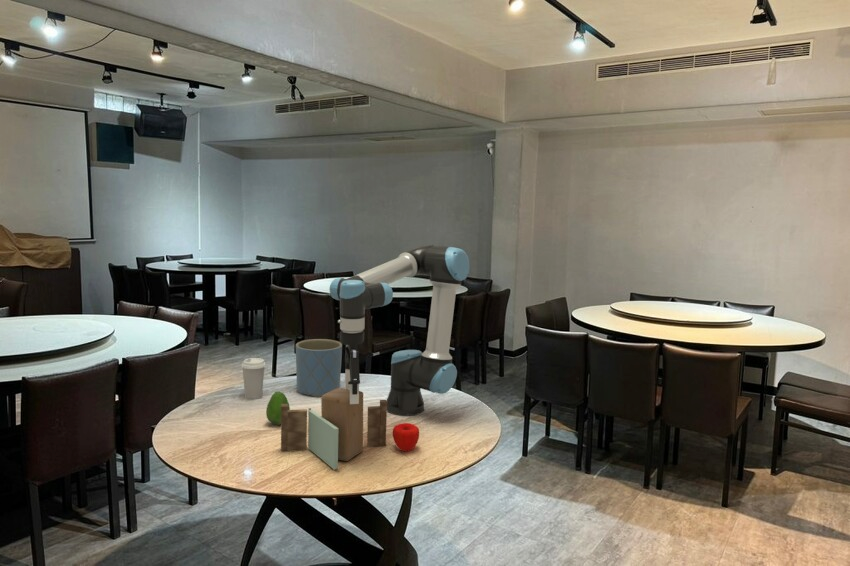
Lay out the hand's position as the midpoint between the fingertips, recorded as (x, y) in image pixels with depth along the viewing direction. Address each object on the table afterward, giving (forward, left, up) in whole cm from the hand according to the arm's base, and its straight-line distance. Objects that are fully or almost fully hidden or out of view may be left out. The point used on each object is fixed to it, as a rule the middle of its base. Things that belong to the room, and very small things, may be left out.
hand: (351, 396), depth 181 cm
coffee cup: (+33, -58, -19) cm, 69 cm away
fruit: (+23, -28, -19) cm, 41 cm away
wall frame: (+4, -5, -19) cm, 20 cm away
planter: (+7, -63, -19) cm, 66 cm away
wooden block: (+3, +1, -19) cm, 19 cm away
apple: (-18, -1, -19) cm, 26 cm away
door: (+9, +3, -18) cm, 21 cm away
